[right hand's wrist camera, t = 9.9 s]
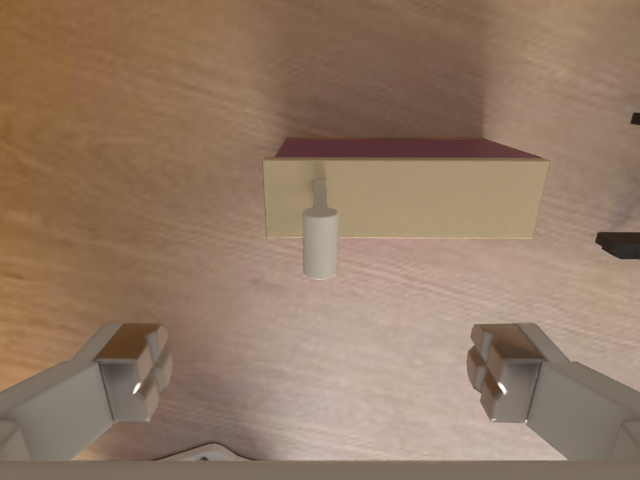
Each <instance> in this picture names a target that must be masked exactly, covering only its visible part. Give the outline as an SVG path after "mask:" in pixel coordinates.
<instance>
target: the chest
mask: <svg viewBox="0 0 640 480" xmlns="http://www.w3.org/2000/svg"><path fill="white" fill-rule="evenodd" d="M275 157H371V158H542V157H539V156H536V155H533V154H530V153H526V152H523V151H520V150H517V149H514V148H511V147H508V146H505V145H502V144H499V143H496V142H493V141H490V140H487V139H484V138H286V141H285V142H284V144H283V145H282V147H281V148H280V150H279V151H278V153H277V155H276V156H275Z"/></svg>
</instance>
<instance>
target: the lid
mask: <svg viewBox="0 0 640 480" xmlns="http://www.w3.org/2000/svg"><path fill="white" fill-rule="evenodd" d="M262 163H263V182H264V201H265V219H266V237H267V238H303V272H304V274H305V275H306V276H307V277H309V278H312V279H319V280H321V279H329V278H332V277H334V276H335V275H336V273H337V258H338V238H533V236H534V232H535V227H536V223H537V218H538V214H539V209H540V205H541V200H542V196H543V191H544V187H545V182H546V177H547V173H548V168H549V164H550V160H547V159H544V158H371V157H265V158H264V159H263V161H262Z"/></svg>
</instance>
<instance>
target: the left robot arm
mask: <svg viewBox="0 0 640 480" xmlns="http://www.w3.org/2000/svg"><path fill="white" fill-rule="evenodd" d="M630 124H636V125H640V113H633V116H632V119H631V123H630ZM595 242H596V243H597V244H599V245H601V246H602V249H603V250H605V251H606V252H608V253H610V254H611V255H613V256H615V257H617V258H620V259H640V233H637V232H599V233H598V234H597V237H596V240H595Z"/></svg>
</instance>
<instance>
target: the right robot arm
mask: <svg viewBox="0 0 640 480" xmlns="http://www.w3.org/2000/svg"><path fill="white" fill-rule="evenodd" d="M169 338H170V337H169V333H168V328H167V326H166V325H165V324H151V323H107V324H104V325H103V326H102V327H101V328H100V329H99V330H98V331H97V332H96V333H95V334H94V335H93V336H92V338H91V339H90V340H89V341H88V342H87V343H86V344H85V345H84V346H83V347H82V348H81V350H80V351H79V352H78V353H77V354H76V355H75V356H74V357H73V358H72V359H71V360H70V361H69V362H61V363H59V364H57V365H55V366H53V367H51V368H49V369H47V370H45V371H43V372H41V373H39V374H37V375H35V376H33V377H31V378H29V379H26V380H24V381H22V382H20V383H18V384H16V385H14V386H12V387H10V388H8V389H6V390H4V391H2V392H0V480H640V392H638V391H636V390H634V389H632V388H630V387H628V386H626V385H624V384H622V383H620V382H618V381H615V380H613V379H611V378H609V377H607V376H605V375H603V374H601V373H599V372H597V371H595V370H593V369H591V368H589V367H587V366H585V365H583V364H581V363H579V362H570V360H569V359H568V358H567V357H566V356H565V355H564V354H563V353H562V352H561V351H560V350H559V348H558V347H557V346H556V345H555V344H554V343H553V342H552V341H551V340H550V339H549V338H548V336H547V335H546V334H545V333H544V332H543V331H542V330H541V329H540V328H539V327H538V326H537V325H536V324H534V323H513V324H474V326H473V328H472V332H471V337H470V338H471V339H472V341H473V343H474V344H475V345H474V346H473V347H472V348H471V349H470V350H469V351H468V356H467V372H468V376H469V380H470V382H471V384H472V386H473V388H474V389H476V390H477V391H478V392H480V393H481V399H480V402H481V404H482V406H483V408H484V410H485V412H486V414H487V415H488V417H489V419H490V421H491V422H505V423H526V425H527V426H528V427H529V428H531V429H532V430H533V431H534V432H536V433H537V434H538V435H539V436H540V437H542V438H543V439H544V440H545V441H546V442H548V443H549V444H550V445H551V446H552V447H554V448H555V449H556V450H557V451H558V452H560V453H561V454H562V455H563V456H565V457H566V458H567V459H568V460H569V461H253V460H249V459H246V458H243V457H240V456H237V455H235V454H234V453H233V452H231V451H230V450H228V449H227V448H225V447H223V446H221V445H219V444H215V443H212V444H207V445H204V446H201V447H198V448H195V449H192V450H188V451H185V452H182V453H179V454H176V455H173V456H170V457H167V458H163V459H160V460H157V461H71V460H72V459H73V458H74V457H76V456H77V455H78V454H79V453H80V452H82V451H83V450H84V449H85V448H86V447H88V446H89V445H90V444H91V443H93V442H94V441H95V440H96V439H97V438H99V437H100V436H101V435H102V434H103V433H105V432H106V431H107V430H108V429H110V428H111V427H112V426H113V425H114V423H134V422H149V421H150V419H151V417H152V416H153V414H154V412H155V410H156V408H157V406H158V404H159V402H160V399H159V393H160V392H162V391H163V390H164V389H166V388H167V386H168V384H169V382H170V380H171V376H172V371H173V355H172V351H171V350H170V349H169V348H168V347H167V346H166V345H165V344H166V343H167V341H168V339H169Z"/></svg>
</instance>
